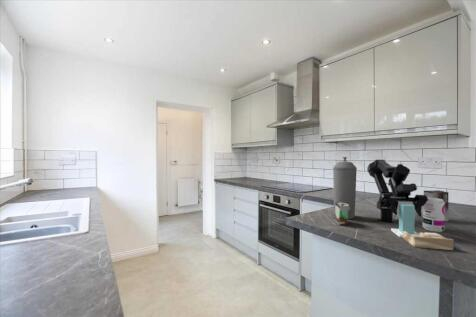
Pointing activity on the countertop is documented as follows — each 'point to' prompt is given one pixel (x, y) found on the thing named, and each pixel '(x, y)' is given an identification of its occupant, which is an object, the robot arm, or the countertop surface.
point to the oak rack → (429, 241)
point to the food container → (341, 213)
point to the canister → (345, 185)
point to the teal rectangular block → (406, 218)
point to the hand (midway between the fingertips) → (408, 215)
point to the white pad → (402, 233)
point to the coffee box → (439, 195)
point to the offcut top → (433, 235)
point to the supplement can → (434, 215)
